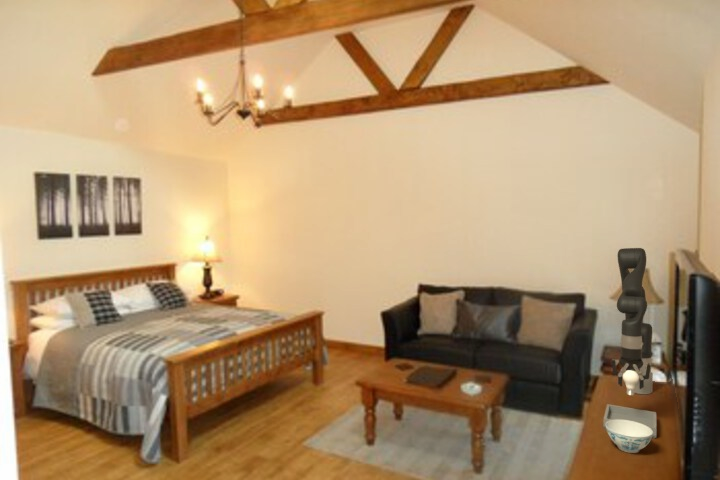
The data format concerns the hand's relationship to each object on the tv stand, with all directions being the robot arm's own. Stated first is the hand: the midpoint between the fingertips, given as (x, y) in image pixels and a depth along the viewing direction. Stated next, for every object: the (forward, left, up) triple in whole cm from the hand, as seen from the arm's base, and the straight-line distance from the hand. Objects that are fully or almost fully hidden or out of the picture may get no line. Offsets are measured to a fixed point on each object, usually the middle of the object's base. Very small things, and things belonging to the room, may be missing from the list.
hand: (630, 387), depth 198 cm
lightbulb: (0, 0, -4) cm, 4 cm away
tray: (0, 0, -16) cm, 16 cm away
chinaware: (+16, +17, -16) cm, 28 cm away
